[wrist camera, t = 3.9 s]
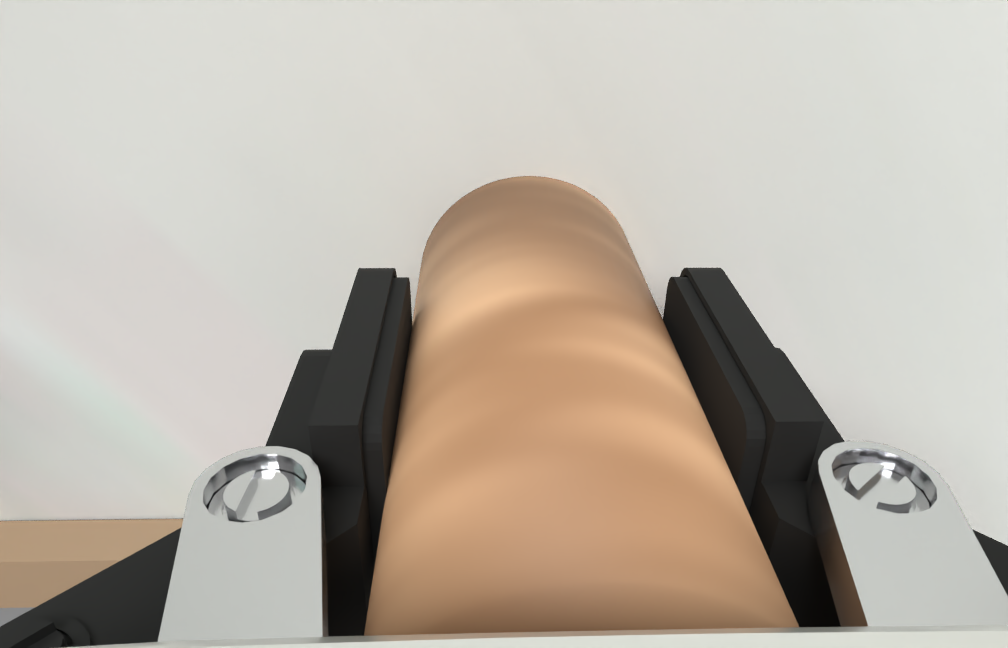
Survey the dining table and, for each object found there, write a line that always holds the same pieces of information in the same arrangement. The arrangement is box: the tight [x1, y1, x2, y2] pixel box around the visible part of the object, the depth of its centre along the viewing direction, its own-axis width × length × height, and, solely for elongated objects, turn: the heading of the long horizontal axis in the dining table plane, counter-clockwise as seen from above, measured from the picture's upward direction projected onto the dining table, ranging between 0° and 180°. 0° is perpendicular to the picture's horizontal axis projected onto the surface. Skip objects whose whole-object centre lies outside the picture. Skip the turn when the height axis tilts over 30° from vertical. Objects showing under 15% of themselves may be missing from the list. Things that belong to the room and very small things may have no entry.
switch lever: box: [364, 176, 799, 636], centre depth 10 cm, size 4×4×9 cm
